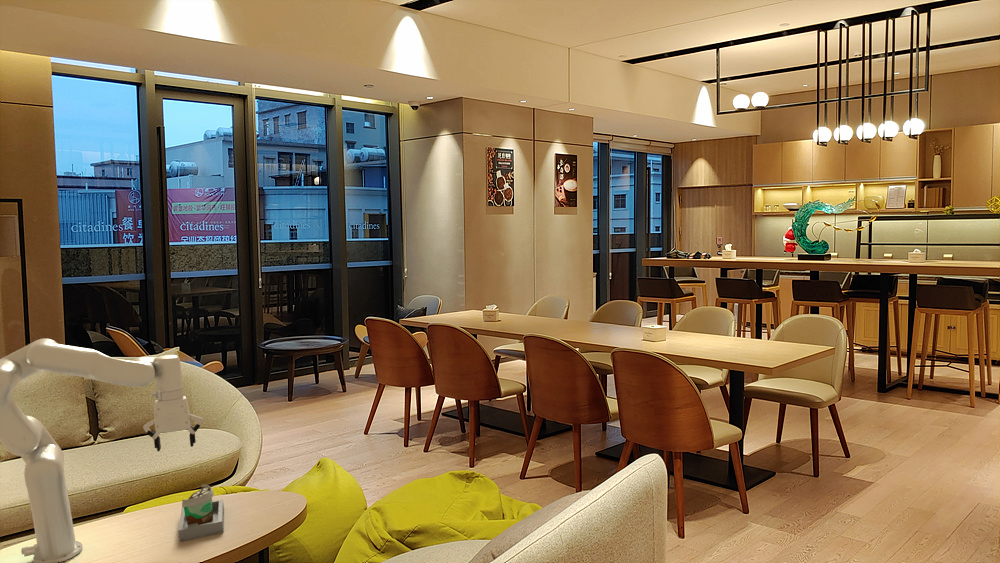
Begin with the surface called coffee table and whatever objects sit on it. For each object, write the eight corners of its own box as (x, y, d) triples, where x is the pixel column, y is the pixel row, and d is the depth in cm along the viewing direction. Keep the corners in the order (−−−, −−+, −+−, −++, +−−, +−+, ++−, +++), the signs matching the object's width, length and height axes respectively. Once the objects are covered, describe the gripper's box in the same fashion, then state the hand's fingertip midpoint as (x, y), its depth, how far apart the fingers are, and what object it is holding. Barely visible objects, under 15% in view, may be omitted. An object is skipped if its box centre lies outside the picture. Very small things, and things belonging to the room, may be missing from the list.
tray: (179, 541, 221) (178, 530, 220) (183, 517, 238) (182, 507, 237) (223, 532, 225) (222, 521, 224) (224, 508, 242) (222, 498, 241)
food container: (204, 531, 225) (200, 500, 224) (185, 531, 226) (181, 500, 224) (224, 513, 237) (220, 483, 236) (206, 513, 238) (202, 484, 237)
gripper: (138, 401, 224) (143, 455, 225) (199, 394, 229) (204, 447, 231) (141, 395, 231) (147, 448, 233) (201, 388, 236) (206, 440, 238)
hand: (175, 447), depth 232 cm, fingers open, 9 cm apart
